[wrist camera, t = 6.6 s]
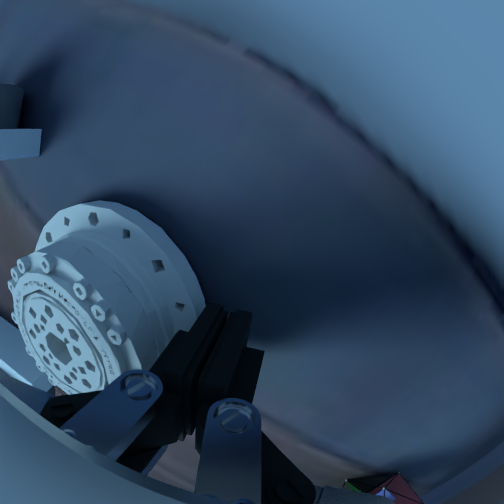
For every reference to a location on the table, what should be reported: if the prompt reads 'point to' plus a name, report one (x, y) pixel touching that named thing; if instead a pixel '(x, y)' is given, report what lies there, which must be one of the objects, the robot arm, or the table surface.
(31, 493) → the robot arm
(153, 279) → the mechanical component
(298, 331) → the table surface
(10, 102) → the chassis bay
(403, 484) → the geometric puzzle
